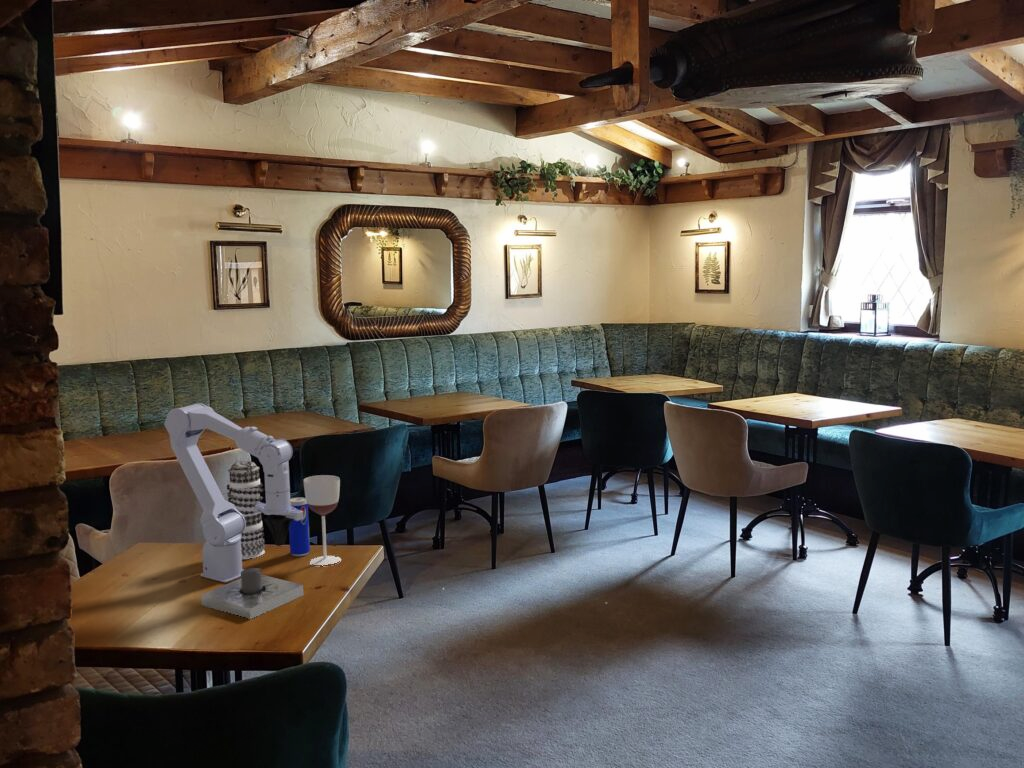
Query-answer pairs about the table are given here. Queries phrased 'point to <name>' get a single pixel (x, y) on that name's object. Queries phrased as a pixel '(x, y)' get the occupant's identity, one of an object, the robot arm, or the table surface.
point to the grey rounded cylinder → (251, 581)
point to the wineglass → (322, 506)
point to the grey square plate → (252, 597)
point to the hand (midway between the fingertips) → (280, 544)
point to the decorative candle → (247, 505)
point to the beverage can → (299, 529)
